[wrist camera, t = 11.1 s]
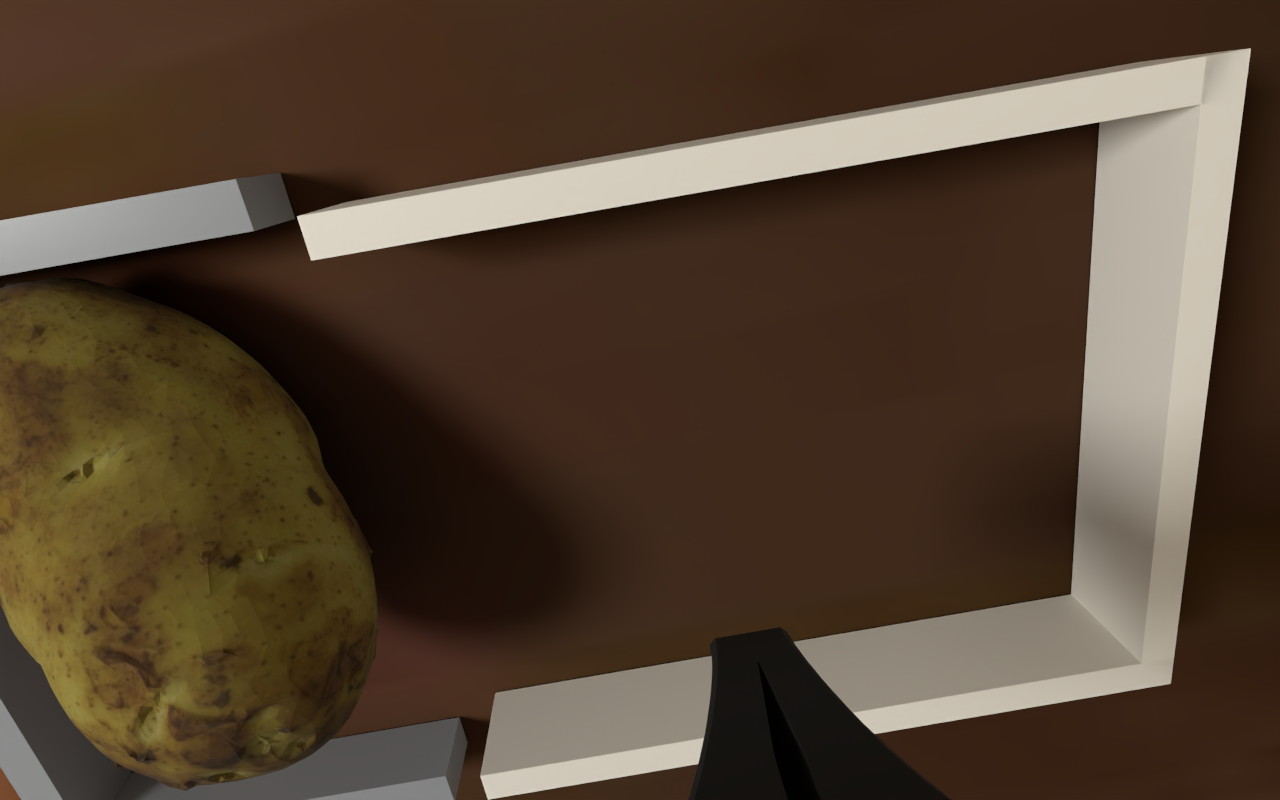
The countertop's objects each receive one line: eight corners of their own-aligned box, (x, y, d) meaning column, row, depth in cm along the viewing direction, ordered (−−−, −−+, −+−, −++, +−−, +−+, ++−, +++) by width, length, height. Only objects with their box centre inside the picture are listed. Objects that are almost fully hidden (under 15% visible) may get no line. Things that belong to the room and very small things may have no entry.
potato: (293, 212, 19) (103, 263, 12) (445, 598, 24) (376, 811, 17) (1, 283, 20) (-364, 378, 12) (207, 653, 24) (32, 887, 17)
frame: (467, 742, 26) (454, 802, 24) (113, 803, 26) (66, 868, 24) (280, 172, 19) (235, 178, 17) (-206, 258, 19) (-317, 276, 17)
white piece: (1097, 612, 26) (1170, 683, 22) (502, 714, 26) (488, 799, 23) (1140, 61, 19) (1250, 48, 16) (347, 201, 19) (296, 216, 16)
